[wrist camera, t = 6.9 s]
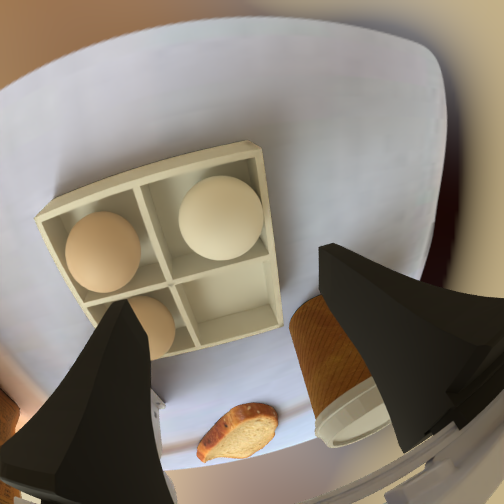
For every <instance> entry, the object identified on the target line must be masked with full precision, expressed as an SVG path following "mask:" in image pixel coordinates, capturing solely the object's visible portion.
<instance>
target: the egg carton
mask: <svg viewBox="0 0 504 504" xmlns="http://www.w3.org/2000/svg"><path fill="white" fill-rule="evenodd" d="M220 175H222V176H231V177H234V178H237V179H239V180H241V181H243V182H245V183H246V184H248V185H249V186H250V187H251V188H252V189H253V190H254V192H255V193H256V194H257V196H258V198H259V199H260V202H261V205H262V208H263V215H264V220H263V227H262V231H261V234H260V236H259V238H258V240H257V241H256V243H255V244H254V245H253V246H252V247H251V248H250V249H249V250H248V251H247V252H246V253H244V254H243V255H241V256H239V257H236V258H234V259H230V260H212V259H208V258H205V257H203V256H201V255H199V254H198V253H196V252H195V251H194V250H192V249H191V248H190V247H189V246H188V244H187V243H186V242H185V240H184V238H183V236H182V234H181V231H180V227H179V209H180V205H181V202H182V200H183V198H184V196H185V195H186V193H187V192H188V191H189V190H190V189H191V188H192V187H193V186H194V185H195V184H196V183H198V182H199V181H201V180H203V179H206V178H208V177H212V176H220ZM100 211H107V212H112V213H115V214H118V215H120V216H122V217H123V218H125V219H126V220H127V221H128V222H129V223H130V224H131V225H132V226H133V228H134V229H135V231H136V233H137V235H138V237H139V241H140V246H141V258H140V263H139V267H138V269H137V271H136V273H135V275H134V276H133V278H132V279H131V280H130V281H129V282H128V283H127V284H126V285H125V286H123V287H122V288H120V289H118V290H116V291H112V292H108V293H99V292H94V291H91V290H88V289H86V288H85V287H83V286H82V285H80V284H79V283H78V282H77V281H76V280H75V279H74V277H73V276H72V274H71V273H70V271H69V268H68V266H67V262H66V256H65V248H66V242H67V238H68V236H69V233H70V232H71V230H72V228H73V227H74V226H75V224H76V223H77V222H78V221H79V220H80V219H82V218H83V217H85V216H86V215H89V214H91V213H94V212H100ZM34 220H35V222H36V224H37V227H38V229H39V231H40V233H41V235H42V238H43V240H44V242H45V244H46V246H47V248H48V250H49V252H50V254H51V256H52V258H53V260H54V262H55V264H56V265H57V267H58V269H59V271H60V273H61V275H62V276H63V278H64V280H65V282H66V283H67V285H68V287H69V289H70V290H71V292H72V294H73V295H74V297H75V298H76V300H77V302H78V303H79V305H80V306H81V308H82V310H83V311H84V313H85V314H86V316H87V317H88V319H89V320H90V322H91V323H92V325H93V326H94V328H95V329H96V327H97V326H98V324H99V322H100V321H101V319H102V317H103V316H104V314H105V312H106V311H107V309H108V308H109V306H110V305H111V304H112V302H115V301H119V300H123V299H129V298H131V297H134V296H148V297H152V298H154V299H157V300H158V301H160V302H161V303H163V304H164V305H165V306H166V307H167V309H168V310H169V311H170V313H171V315H172V317H173V319H174V323H175V338H174V341H173V344H172V346H171V347H170V349H169V350H168V351H167V352H166V353H165V354H164V355H163V356H161V357H160V358H164V357H169V356H174V355H178V354H183V353H187V352H191V351H195V350H200V349H204V348H208V347H212V346H216V345H220V344H223V343H227V342H231V341H235V340H238V339H242V338H246V337H249V336H253V335H256V334H260V333H263V332H266V331H270V330H273V329H276V328H279V327H283V326H284V324H283V314H282V305H281V296H280V287H279V278H278V269H277V261H276V253H275V244H274V236H273V228H272V220H271V213H270V205H269V197H268V190H267V183H266V175H265V168H264V161H263V154H262V148H260V147H259V146H257V145H255V144H254V143H252V142H250V141H249V140H246V141H241V142H236V143H231V144H226V145H221V146H217V147H212V148H208V149H204V150H199V151H195V152H191V153H187V154H183V155H180V156H176V157H172V158H169V159H165V160H161V161H158V162H155V163H151V164H148V165H145V166H141V167H138V168H135V169H132V170H129V171H126V172H123V173H120V174H117V175H114V176H111V177H108V178H105V179H103V180H100V181H97V182H94V183H92V184H89V185H86V186H84V187H81V188H79V189H76V190H74V191H71V192H69V193H66V194H64V195H62V196H59V197H57V198H55V199H52V200H51V201H50V202H49V203H48V204H47V205H46V206H45V207H44V208H43V209H42V210H41V211H40V212H39V213H38V214H37V215H36V216H35V218H34ZM158 359H159V358H158Z"/></svg>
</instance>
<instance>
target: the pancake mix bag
mask: <svg viewBox="0 0 504 504" xmlns="http://www.w3.org/2000/svg"><path fill="white" fill-rule="evenodd" d="M19 410H20V408H19V407H18V406H17V404H16V403H15V402H14V401H13V400H11V399H10V398H9V397H8V396H7V395H6V394H5V393H4V392H3V391H2V390H1V389H0V448H1V445H3V444H4V443H5V442H6V441H7V440H9V439H10V438H11V437H12V436H13V435H14V434H15V427H16V424H17V422H18V419H19V416H20V414H19ZM15 496H16V497H18V498H21V499H22V497H21V491H20V490H18V489H15V488H13V487H11V486H9V485H8V484H6V483H4V482H2V481H1V480H0V504H14V497H15Z"/></svg>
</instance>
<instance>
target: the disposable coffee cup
mask: <svg viewBox="0 0 504 504" xmlns="http://www.w3.org/2000/svg"><path fill="white" fill-rule="evenodd" d="M289 330H290V334H291V337H292V340H293V343H294V347H295V350H296V354H297V357H298V360H299V364H300V368H301V370H302V374H303V377H304V381H305V384H306V387H307V391H308V395H309V398H310V402H311V405H312V408H313V412H314V415H315V419H316V421H315V427H316V428H315V436H317V437H318V438H322V440H323V441H324V442H325V443H326V445H327V446H328V447H330V448H337V447H341V446H346V445H349V444H352V443H355V442H357V441H359V440H362V439H364V438H366V437H368V436H370V435H372V434H374V433H376V432H377V431H379V430H381V429H383V428H384V427H386V426H387V425H389V424H390V423H392V422H391V419H390V416H389V414H388V411H387V409H386V406H385V404H384V401H383V399H382V397H381V394H380V392H379V390H378V388H377V386H376V384H375V381H374V379H373V377H372V375H371V373H370V371H369V369H368V368H367V366H366V364H365V362H364V360H363V358H362V357H361V355H360V353H359V352H358V350H357V349H356V347H355V346H354V344H353V343H352V341H351V340H350V339H349V337H348V336H347V334H346V333H345V331H344V330H343V329H342V327H341V326H340V324H339V323H338V321H337V320H336V318H335V317H334V316H333V314H332V313H331V311H330V310H329V308H328V306H327V304H326V302H325V300H324V298H323V296H322V295H319V296H317V297H314V298H313V299H311V300H309V301H307V302H306V303H305V304H303V305H302V306H301V307H300V308H299V309H298V310H297V311H296V312H295V314H294V315H293V317H292V318H291V321H290V325H289Z"/></svg>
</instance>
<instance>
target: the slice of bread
mask: <svg viewBox="0 0 504 504" xmlns="http://www.w3.org/2000/svg"><path fill="white" fill-rule="evenodd" d="M277 426H278V416H277V413H276V411H275V410H274V408H273V407H271V406H269V405H266V404H262V403H247V404H242V405H238V406H236V407H234V408H232V409H231V410H230V411H229V412H227V413H226V414H225V415H224V416H223V417H221V418H220V419H219V420H218V421H217V422H216V423H215V425H214V426H213V427H212V428H211V430H210V431H209V432H208V433H207V434H206V435H205V437H204V438H203V439H202V441H201V442H200V443H199V445H198V447H197V457H198V458H199V459H200V460H201V461H202V462H204V463H206V461H208V460H211V459H214V458H218V457H228V458H238V459H240V458H247V457H249V456H251V455H252V454H254V453H255V452H257V451H258V450H260V449H262V448H263V447H264V446H265V445H267V444H268V443H269V441H271V440H272V438H273V437H274V436H275V432H274V431H275V429H276V427H277Z"/></svg>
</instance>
